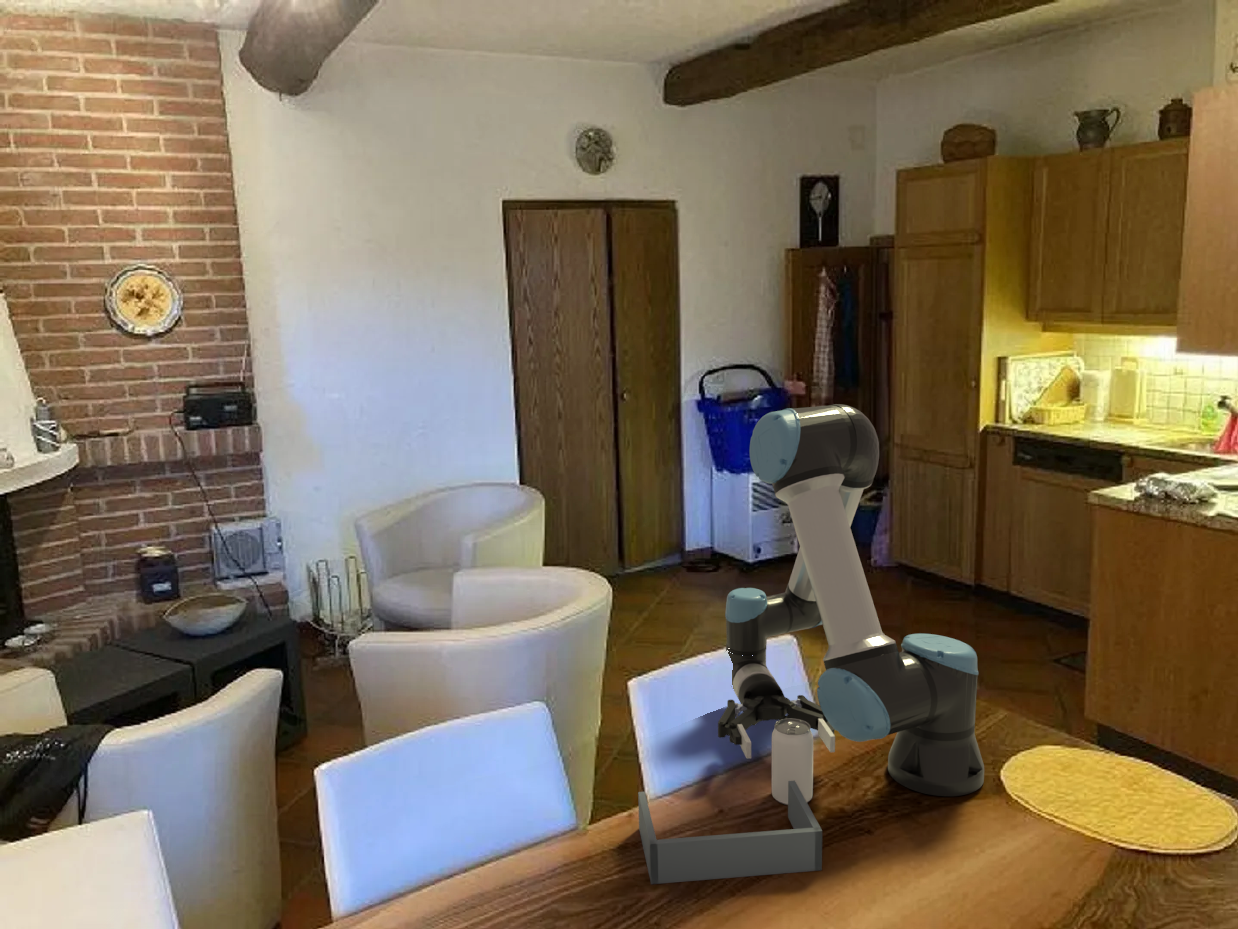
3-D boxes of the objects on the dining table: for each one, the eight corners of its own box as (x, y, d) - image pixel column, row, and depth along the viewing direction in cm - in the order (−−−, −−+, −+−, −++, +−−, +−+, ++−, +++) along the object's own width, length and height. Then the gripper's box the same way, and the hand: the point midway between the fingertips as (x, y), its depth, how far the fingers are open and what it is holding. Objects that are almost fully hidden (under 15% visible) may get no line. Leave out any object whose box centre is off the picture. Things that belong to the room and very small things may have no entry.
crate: (639, 828, 148) (638, 792, 147) (794, 816, 151) (794, 780, 149) (651, 884, 135) (650, 844, 134) (821, 870, 137) (822, 831, 136)
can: (815, 789, 158) (816, 719, 156) (809, 809, 152) (810, 737, 150) (775, 783, 160) (775, 715, 158) (768, 803, 154) (768, 732, 152)
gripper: (825, 707, 178) (866, 763, 157) (690, 716, 176) (713, 775, 155) (826, 668, 177) (867, 719, 156) (689, 677, 174) (713, 730, 154)
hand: (791, 747), depth 155 cm, fingers open, 13 cm apart
